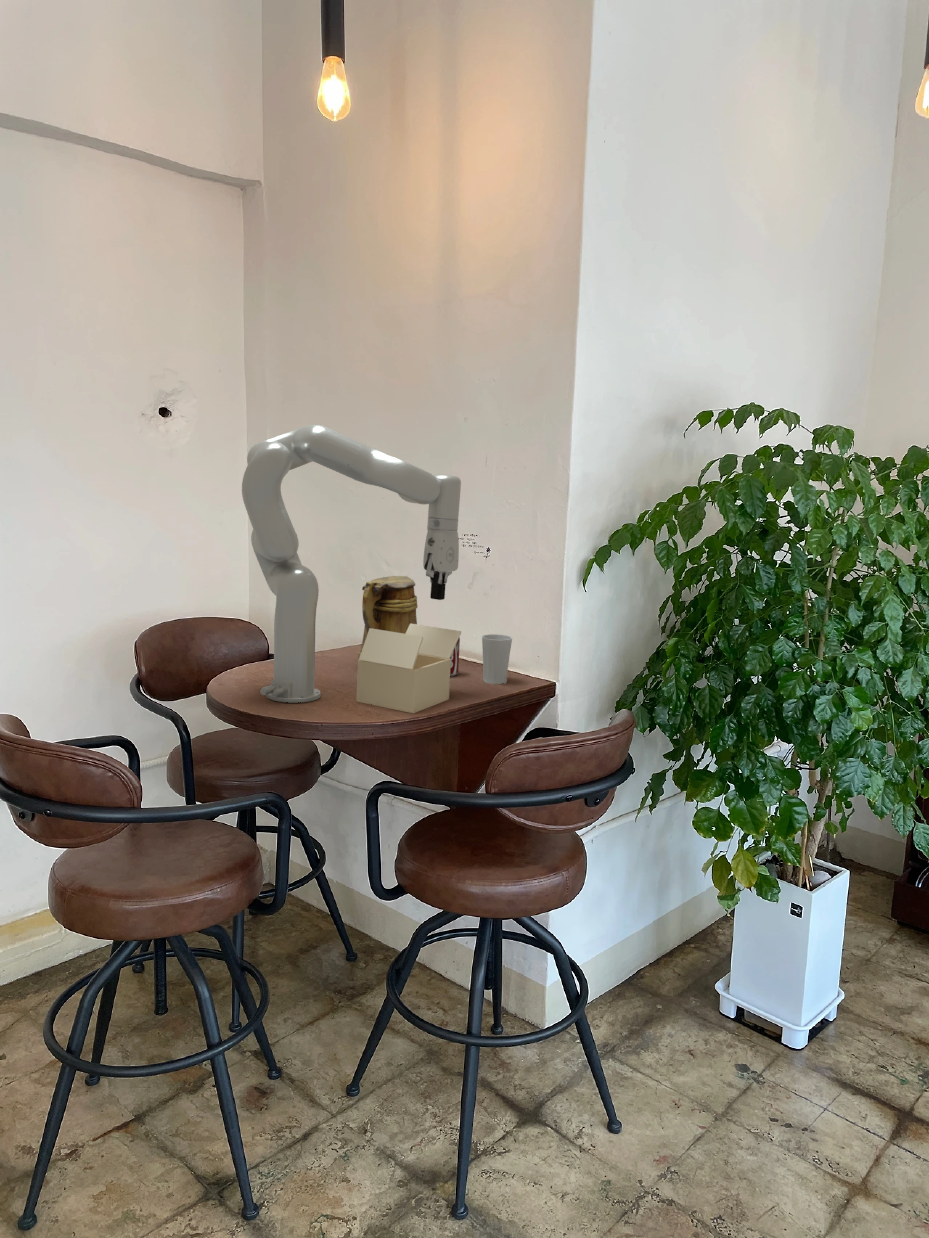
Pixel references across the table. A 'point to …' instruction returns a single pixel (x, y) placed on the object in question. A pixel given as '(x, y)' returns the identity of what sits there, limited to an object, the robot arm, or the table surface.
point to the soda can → (455, 659)
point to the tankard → (389, 605)
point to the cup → (495, 658)
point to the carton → (404, 684)
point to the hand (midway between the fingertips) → (437, 598)
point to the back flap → (435, 640)
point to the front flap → (391, 648)
